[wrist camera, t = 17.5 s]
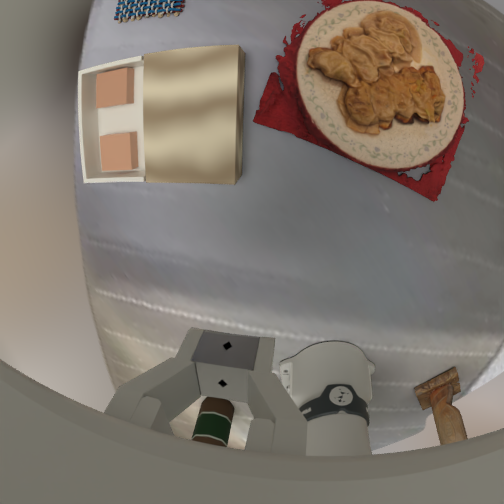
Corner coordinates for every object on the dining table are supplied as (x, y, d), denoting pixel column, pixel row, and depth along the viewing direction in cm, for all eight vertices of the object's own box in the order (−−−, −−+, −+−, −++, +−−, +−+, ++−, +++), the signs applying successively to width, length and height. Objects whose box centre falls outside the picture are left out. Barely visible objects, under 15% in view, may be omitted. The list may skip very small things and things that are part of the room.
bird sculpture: (460, 383, 52) (493, 489, 24) (421, 405, 56) (444, 512, 28) (454, 364, 48) (494, 485, 20) (410, 389, 53) (436, 512, 25)
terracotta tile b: (96, 108, 31) (104, 107, 33) (126, 103, 31) (133, 103, 32) (96, 74, 29) (104, 74, 30) (127, 67, 28) (134, 68, 30)
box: (162, 173, 37) (147, 181, 33) (101, 175, 38) (84, 183, 34) (161, 59, 30) (145, 54, 26) (97, 72, 31) (78, 71, 27)
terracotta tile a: (102, 170, 35) (109, 167, 37) (131, 169, 35) (138, 166, 37) (99, 136, 33) (107, 134, 35) (129, 132, 32) (136, 131, 34)
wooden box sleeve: (241, 175, 36) (235, 184, 32) (162, 173, 37) (146, 182, 33) (245, 53, 29) (238, 44, 24) (161, 59, 30) (144, 54, 25)
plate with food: (429, 199, 35) (440, 207, 32) (253, 121, 33) (250, 122, 30) (479, 59, 24) (492, 58, 21) (314, -33, 22) (317, -44, 19)
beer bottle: (202, 409, 63) (179, 493, 42) (201, 392, 59) (174, 485, 38) (234, 414, 63) (216, 501, 41) (235, 398, 59) (216, 494, 38)
